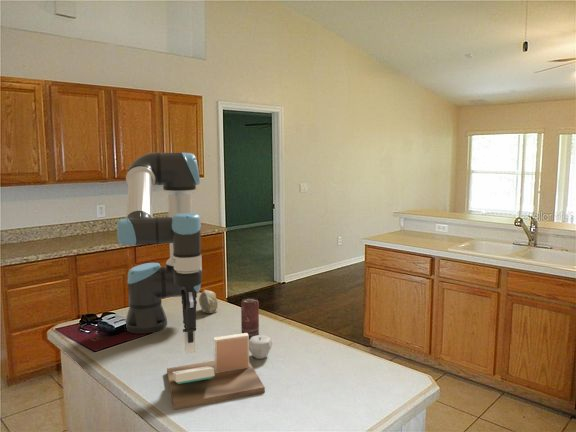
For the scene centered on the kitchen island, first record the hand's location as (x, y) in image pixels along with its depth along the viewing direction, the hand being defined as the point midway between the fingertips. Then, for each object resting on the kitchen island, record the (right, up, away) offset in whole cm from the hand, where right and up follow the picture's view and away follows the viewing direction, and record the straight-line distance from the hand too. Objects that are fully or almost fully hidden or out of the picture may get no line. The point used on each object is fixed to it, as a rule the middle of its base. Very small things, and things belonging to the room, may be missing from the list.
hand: (190, 351), depth 124 cm
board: (+6, -9, +1) cm, 11 cm away
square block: (0, -7, +1) cm, 7 cm away
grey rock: (-5, -1, +58) cm, 58 cm away
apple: (+19, -7, +17) cm, 26 cm away
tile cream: (+11, -7, +6) cm, 14 cm away
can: (+14, -5, +32) cm, 35 cm away
